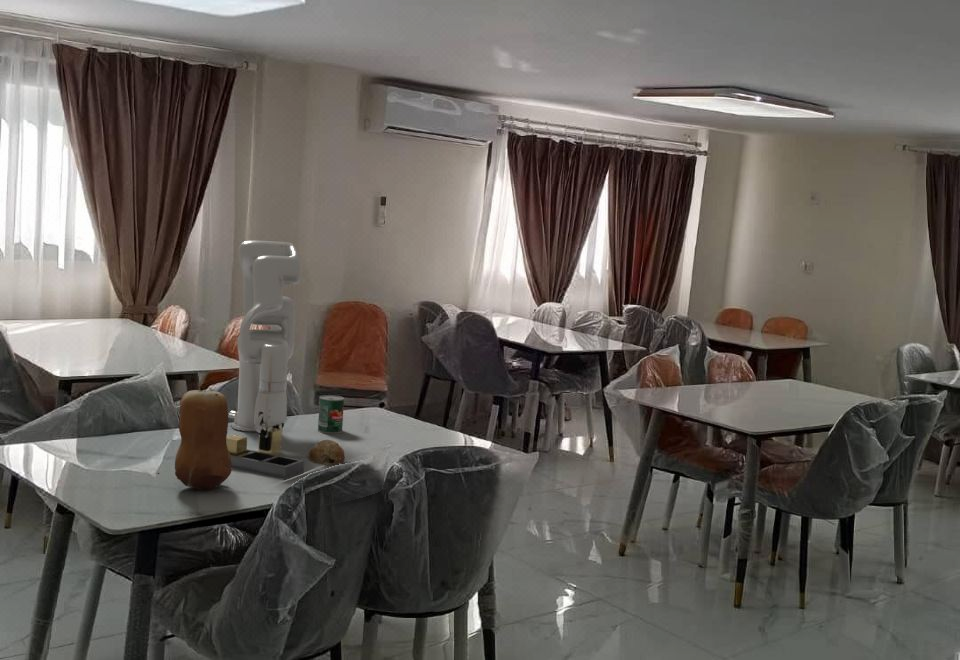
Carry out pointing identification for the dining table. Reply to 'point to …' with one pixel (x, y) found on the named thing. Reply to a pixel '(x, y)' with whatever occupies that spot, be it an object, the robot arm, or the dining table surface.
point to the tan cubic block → (274, 441)
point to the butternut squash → (203, 440)
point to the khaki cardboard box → (236, 445)
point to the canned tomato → (330, 414)
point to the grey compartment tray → (268, 464)
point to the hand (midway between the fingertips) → (269, 447)
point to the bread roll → (327, 453)
